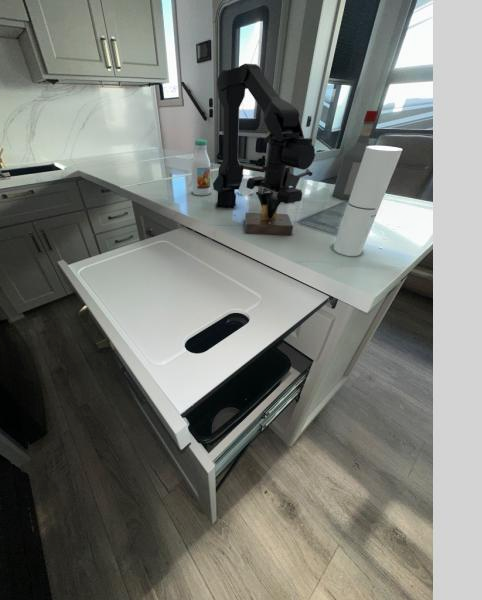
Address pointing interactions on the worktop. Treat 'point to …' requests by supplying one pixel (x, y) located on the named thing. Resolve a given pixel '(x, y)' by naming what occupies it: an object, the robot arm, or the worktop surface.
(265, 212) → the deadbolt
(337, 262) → the worktop surface
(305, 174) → the latch
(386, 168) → the cylindrical container
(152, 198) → the worktop surface
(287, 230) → the brown flat block
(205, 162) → the milk bottle
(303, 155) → the robot arm
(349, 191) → the liquor
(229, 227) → the worktop surface
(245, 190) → the shot glass
